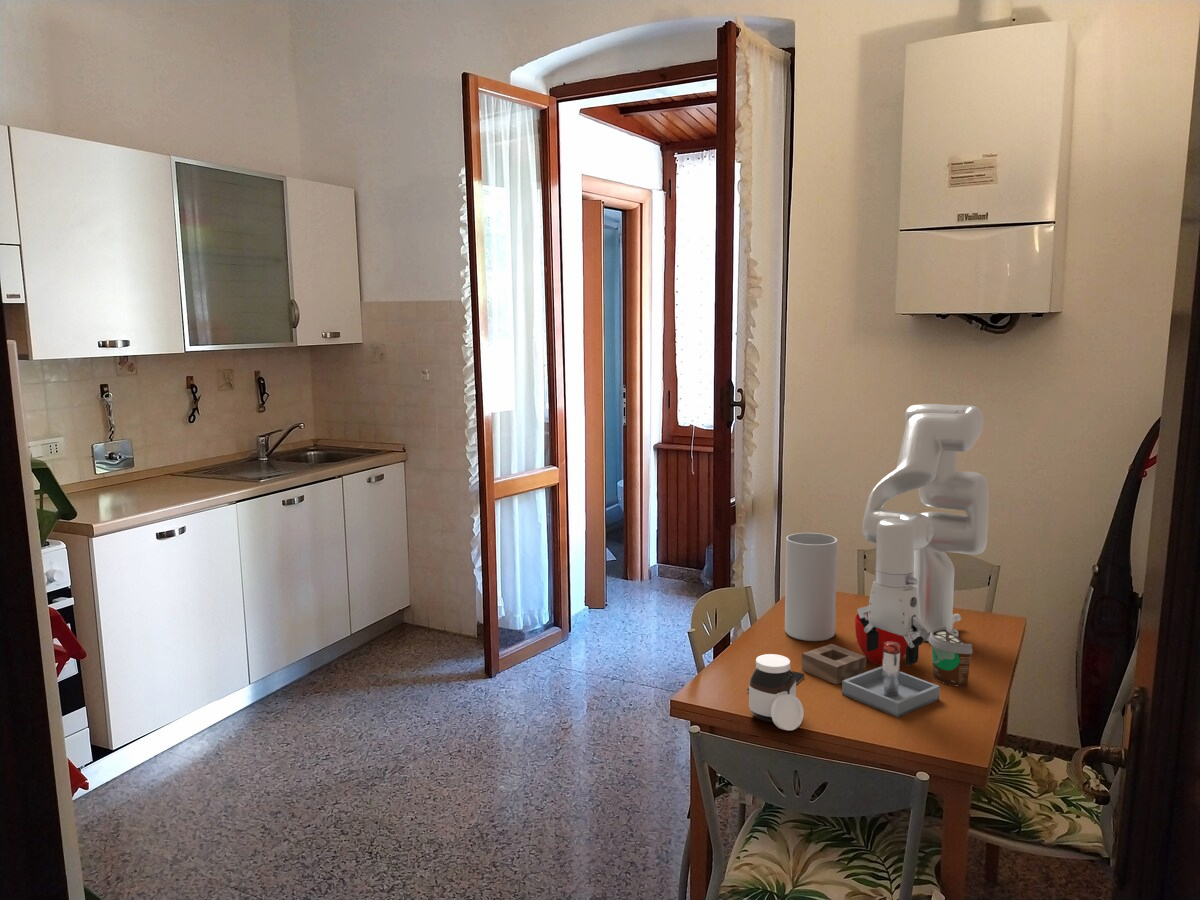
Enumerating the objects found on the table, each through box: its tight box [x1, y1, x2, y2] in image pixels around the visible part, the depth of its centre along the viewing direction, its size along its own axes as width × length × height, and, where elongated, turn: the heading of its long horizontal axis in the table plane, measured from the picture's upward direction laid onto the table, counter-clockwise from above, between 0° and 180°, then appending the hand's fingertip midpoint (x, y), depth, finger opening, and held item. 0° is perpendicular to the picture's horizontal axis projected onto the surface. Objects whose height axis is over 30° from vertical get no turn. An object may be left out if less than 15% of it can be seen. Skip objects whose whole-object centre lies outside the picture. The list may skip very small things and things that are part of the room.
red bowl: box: [854, 612, 913, 666], centre depth 202 cm, size 13×17×10 cm
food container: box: [928, 626, 973, 687], centre depth 190 cm, size 12×6×10 cm, turn 5°
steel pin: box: [882, 641, 901, 697], centre depth 181 cm, size 3×3×11 cm
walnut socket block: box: [801, 643, 867, 685], centre depth 195 cm, size 10×10×4 cm
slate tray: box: [841, 665, 941, 719], centre depth 181 cm, size 14×14×3 cm
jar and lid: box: [748, 653, 804, 731], centre depth 172 cm, size 12×11×12 cm
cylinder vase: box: [784, 532, 838, 642], centre depth 218 cm, size 12×12×25 cm
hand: (891, 656), depth 180 cm, fingers open, 9 cm apart
